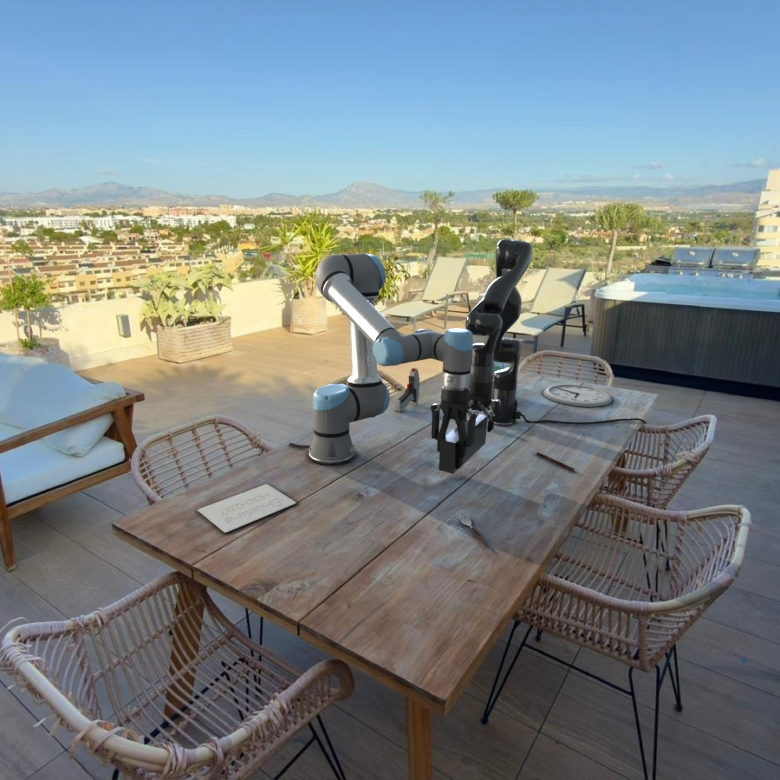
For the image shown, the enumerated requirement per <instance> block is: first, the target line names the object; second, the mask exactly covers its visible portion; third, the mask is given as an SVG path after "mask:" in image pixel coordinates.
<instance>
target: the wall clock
mask: <svg viewBox="0 0 780 780" xmlns="http://www.w3.org/2000/svg"><path fill="white" fill-rule="evenodd" d="M543 396H544V397H546V398H547V399H549V400H551V401H554V402H555V403H560V404H563V405H569V406H574V407H585V408H586V407H588V408H594V407H595V408H596V407H604V406H609V405H610V404H611V403H612V402H613V398H612V396H611V395H610V394H608V393H607V392H605V391H604V390H601V389H598V388H594V387H590V386H586V385H579V384H556V385H551V386H549V387H546V388H545V389H544V390H543Z"/></svg>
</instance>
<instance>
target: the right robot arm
mask: <svg viewBox="0 0 780 780" xmlns="http://www.w3.org/2000/svg"><path fill="white" fill-rule="evenodd" d="M532 257H533V245H532V244H531V243H530V242H529V241H523V240H516V239H510V238H502V239H500V240H499V241H498V242H497V245H496V248H495V255H494V266H495V280H493V281H492V282H491V283H490V284H489V285H488V287H487V288H486V290H485V292H484V295H483V297H482V299H481V300H480V301H479V302H478V303H477V304H476V305H475V306H474V307H473V308H472V309H471V310H470V311H469V313H468V315H467V316H466V318H465V322H464V327H465V328H464V329H467V330H469V331H471V332H472V334H473V336H477V337H478V336H479V337H484V338H485V337H486V340H485V342H476V343H473V351H472V360H471V376H470V386H469V387H468V388H469V389H470V391H469V402H468V405H469V407H470V410H472V411H477V412H483V415H486V416H487V430H486V433H491V432H492V431H493V430H494V428H495V425H497V426H511V425H513V424H516V423H517V420H521V417H522V418H523V421H524V422H526V423H527V424H528V423H529V424H530V423H531V424H536V423H537V424H538V423H553V424H564V425H597V424H605V423H613V422H614V423H615V422H626V421H627V422H630V421H631V422H632V421H640V422H642V423H643V424H645V425H647V424H648V422H647V421H645V420H644V419H642V418H638V417H633V418H632V417H631V418H615V419H614V418H613V419H608V420H607V419H606V420H598V421H597V420H596V421H563V420H551V419H539V420H534V421H533V420H529V419H527V417H526V416H525V415H524V414H523V413H522V411H520V410H519V409H518V399H517V388H518V377H519V376H518V375H519V366H520V359H521V353H522V352H521V351H522V343H521V341H520V340H519V339H515V338H503V337H504V335H506V333H507V332H508V330H510V329H511V328H512V327H513V326H514V325H515V324H516V322H517V321H518V320H519V318H520V317H521V313H522V312H521V311H522V301H523V300H522V296H521V293H520V291H519V290H518V288H517V284H518V283H519V282H520V281H521V279H522V277H523V276H524V274H525V273H526V271H527V270H528V268H529V266H530V264H531V261H532ZM493 361H494V362H498V363H508V364H509V365H508V367H506V368H504V369H501V370H497V371H495V372H494V374H493ZM492 381H493V385H492ZM491 394H492V398H491ZM464 417H465V420H466V419H467V418H468V413H467V414H466V415H465V416H464Z"/></svg>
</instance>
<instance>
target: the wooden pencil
mask: <svg viewBox="0 0 780 780" xmlns="http://www.w3.org/2000/svg"><path fill="white" fill-rule="evenodd" d="M535 455H536V456H538V457H541V458H543V459H545V460H547V461H549V462H552V463H553V464H555V465H558V466H560V467H562V468H564V469H566V470H569V471H571V472H575V468H574V467H572V466H570V465H567V464H566V463H564V462H561V461H558V460H557V459H554V458H552V457H549V456H548V455H546V454H543V453H541V452H539V451H537V452H536V454H535Z"/></svg>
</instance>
